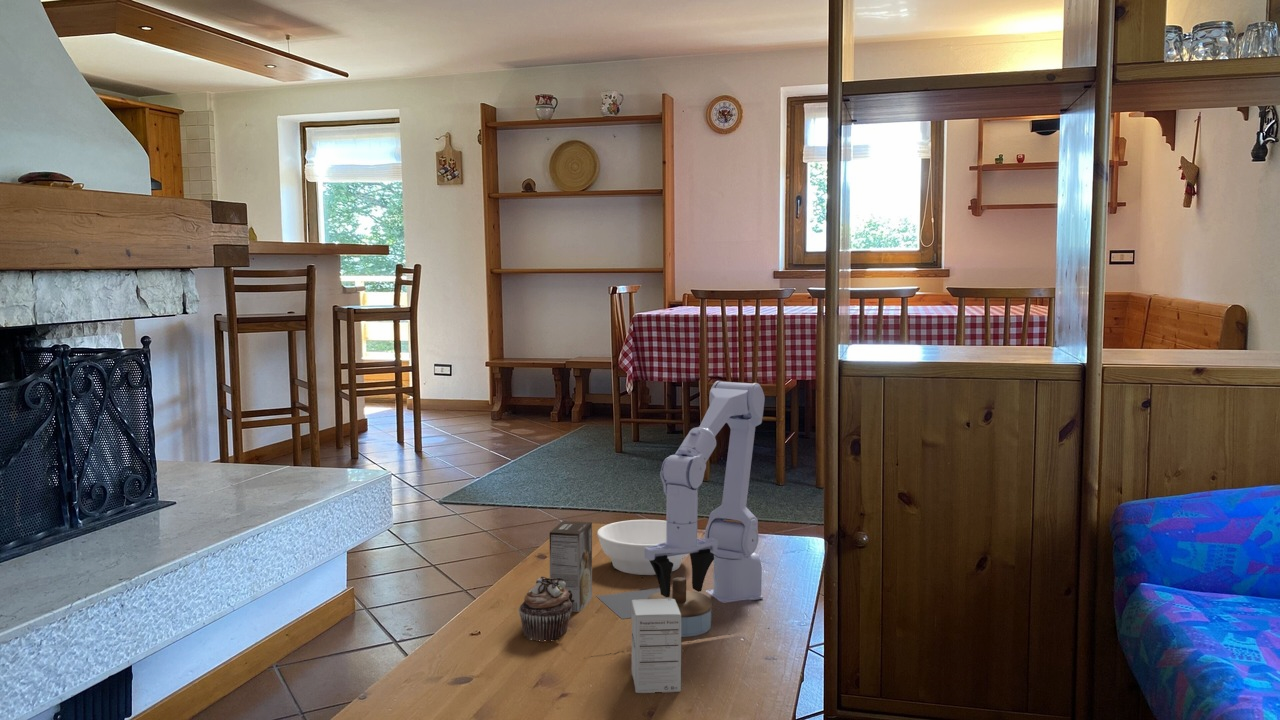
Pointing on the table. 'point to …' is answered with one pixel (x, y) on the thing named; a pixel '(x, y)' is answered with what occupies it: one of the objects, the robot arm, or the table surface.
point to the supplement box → (656, 645)
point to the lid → (686, 599)
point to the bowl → (634, 544)
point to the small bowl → (695, 624)
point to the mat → (625, 601)
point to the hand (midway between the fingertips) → (681, 592)
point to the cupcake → (546, 610)
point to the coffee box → (573, 560)
